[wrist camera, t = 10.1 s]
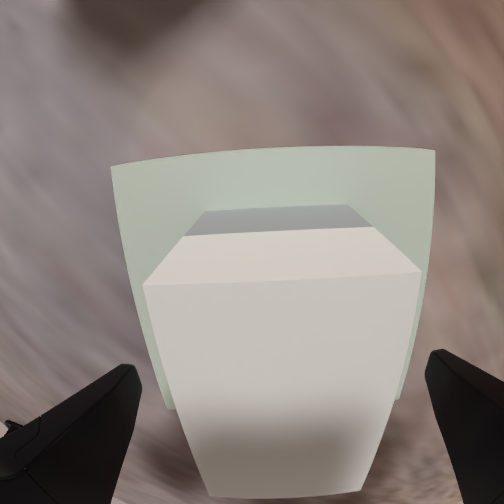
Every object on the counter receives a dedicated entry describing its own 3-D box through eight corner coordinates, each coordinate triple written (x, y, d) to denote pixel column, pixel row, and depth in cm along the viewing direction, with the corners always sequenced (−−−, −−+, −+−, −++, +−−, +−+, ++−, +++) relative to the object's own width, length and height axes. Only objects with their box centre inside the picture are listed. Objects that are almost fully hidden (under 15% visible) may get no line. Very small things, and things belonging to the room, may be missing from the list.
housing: (347, 204, 11) (421, 271, 5) (337, 380, 13) (360, 490, 8) (204, 211, 11) (142, 285, 5) (228, 384, 14) (209, 496, 8)
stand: (388, 375, 16) (399, 398, 14) (175, 384, 17) (167, 409, 15) (413, 148, 12) (435, 150, 10) (131, 162, 13) (110, 166, 11)
